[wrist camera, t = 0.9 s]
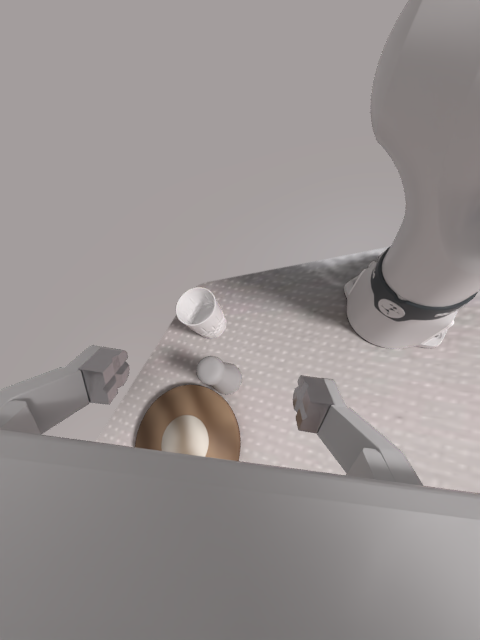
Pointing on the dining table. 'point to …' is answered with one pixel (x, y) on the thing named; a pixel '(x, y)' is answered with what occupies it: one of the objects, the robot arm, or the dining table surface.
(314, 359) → the dining table surface
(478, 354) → the dining table surface
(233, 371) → the salt shaker
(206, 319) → the white cup
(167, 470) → the robot arm
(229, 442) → the turntable
